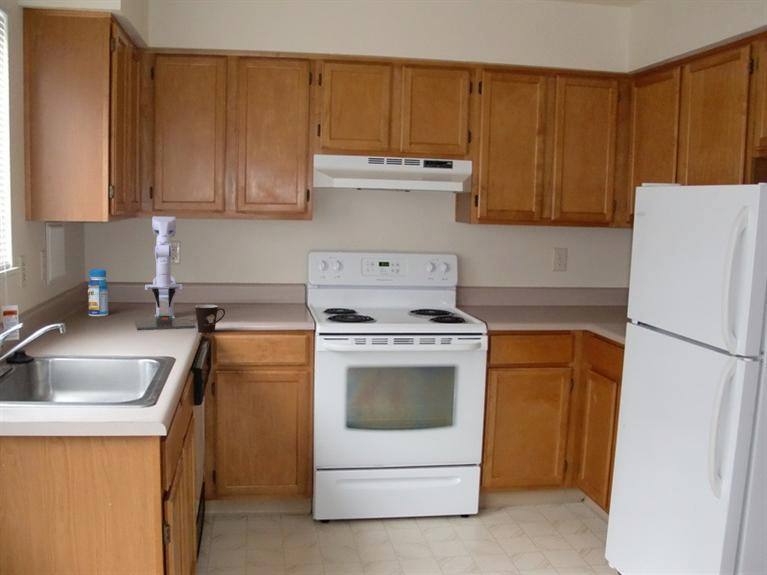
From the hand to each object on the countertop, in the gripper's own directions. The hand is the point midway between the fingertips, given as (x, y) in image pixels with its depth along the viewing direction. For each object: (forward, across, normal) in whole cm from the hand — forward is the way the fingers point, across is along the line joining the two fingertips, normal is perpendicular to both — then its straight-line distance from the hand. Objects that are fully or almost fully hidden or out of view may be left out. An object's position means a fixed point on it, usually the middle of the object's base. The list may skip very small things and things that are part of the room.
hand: (163, 307), depth 306 cm
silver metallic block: (+3, 0, 0) cm, 3 cm away
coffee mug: (+8, +16, -20) cm, 27 cm away
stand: (+7, 0, 0) cm, 7 cm away
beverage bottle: (+8, -25, +33) cm, 42 cm away
